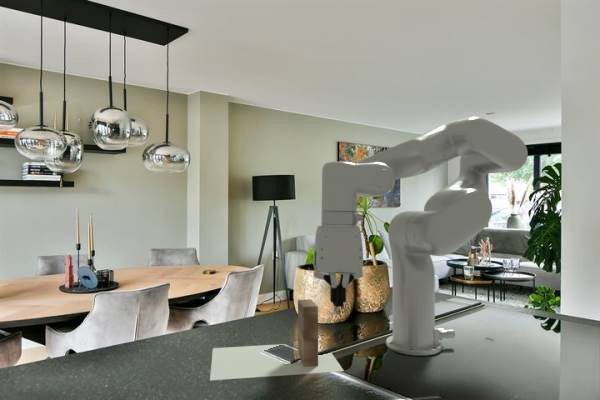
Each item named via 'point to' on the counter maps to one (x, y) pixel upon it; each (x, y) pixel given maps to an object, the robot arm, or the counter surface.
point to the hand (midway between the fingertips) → (337, 305)
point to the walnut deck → (308, 332)
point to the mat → (262, 364)
